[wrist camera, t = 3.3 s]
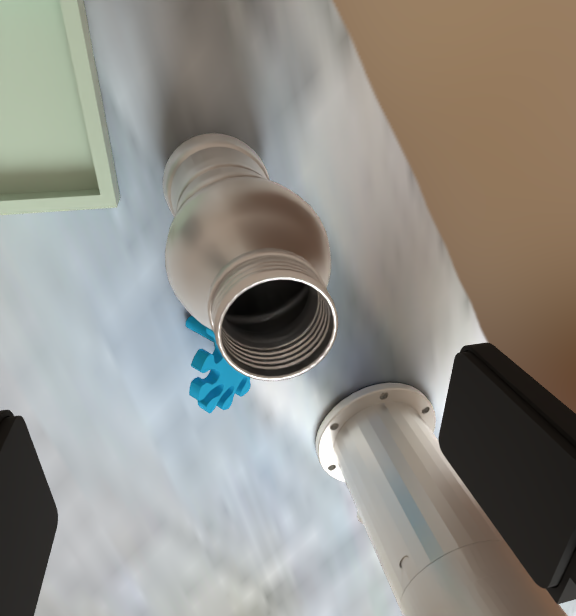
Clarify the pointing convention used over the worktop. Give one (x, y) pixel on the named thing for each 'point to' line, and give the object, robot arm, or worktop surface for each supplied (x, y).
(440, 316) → the worktop surface
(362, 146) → the worktop surface
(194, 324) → the gear
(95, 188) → the tray
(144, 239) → the worktop surface
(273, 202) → the plastic bottle
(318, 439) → the robot arm
